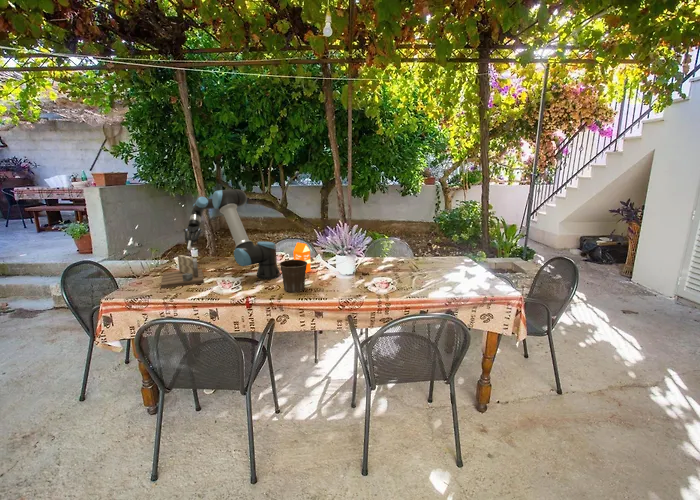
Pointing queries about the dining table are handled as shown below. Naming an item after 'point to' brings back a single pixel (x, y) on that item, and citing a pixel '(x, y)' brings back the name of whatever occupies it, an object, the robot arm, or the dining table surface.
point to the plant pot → (293, 275)
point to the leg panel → (185, 264)
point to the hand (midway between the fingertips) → (188, 249)
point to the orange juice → (303, 254)
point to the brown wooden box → (182, 277)
